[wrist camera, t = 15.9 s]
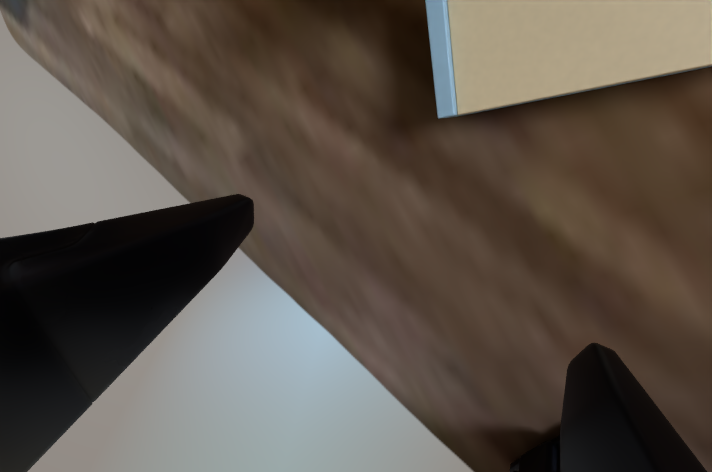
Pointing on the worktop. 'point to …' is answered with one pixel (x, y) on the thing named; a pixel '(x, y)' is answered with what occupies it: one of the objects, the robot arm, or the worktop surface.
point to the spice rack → (558, 47)
